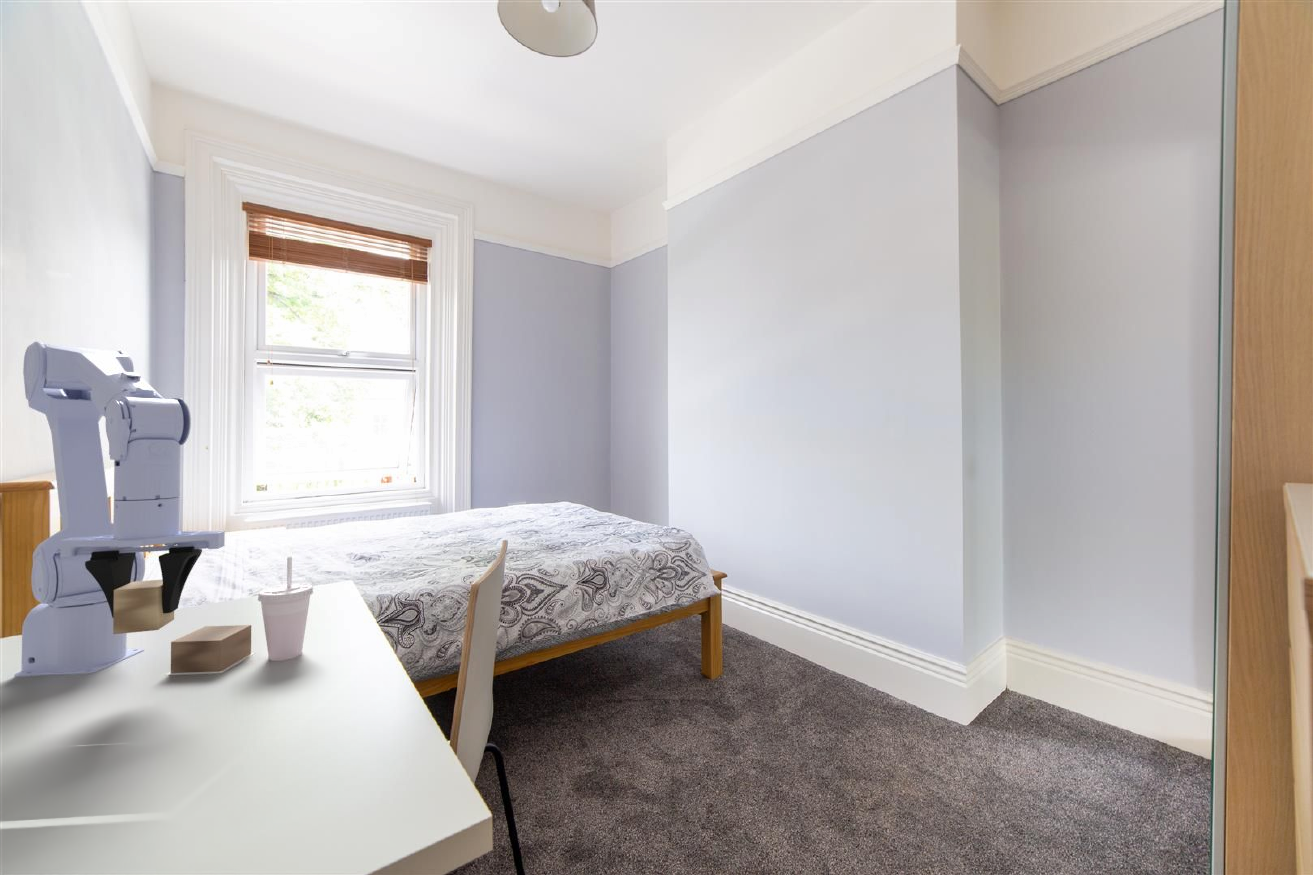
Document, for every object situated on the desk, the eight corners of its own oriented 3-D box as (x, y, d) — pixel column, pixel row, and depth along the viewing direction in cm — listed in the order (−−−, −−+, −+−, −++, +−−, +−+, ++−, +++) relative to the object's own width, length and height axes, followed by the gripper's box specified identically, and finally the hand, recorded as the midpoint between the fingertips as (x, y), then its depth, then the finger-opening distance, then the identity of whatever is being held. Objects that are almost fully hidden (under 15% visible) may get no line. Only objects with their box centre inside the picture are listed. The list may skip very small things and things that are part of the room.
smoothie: (323, 650, 78) (324, 553, 78) (289, 668, 72) (289, 563, 72) (282, 649, 79) (283, 552, 79) (244, 666, 72) (245, 562, 73)
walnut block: (170, 673, 69) (170, 641, 69) (205, 655, 75) (205, 626, 75) (220, 671, 70) (220, 640, 70) (251, 653, 76) (251, 624, 76)
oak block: (113, 634, 61) (113, 590, 61) (132, 623, 65) (133, 581, 65) (157, 629, 63) (158, 586, 63) (174, 619, 66) (174, 578, 66)
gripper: (42, 504, 58) (40, 631, 58) (209, 499, 63) (207, 615, 63) (83, 498, 64) (81, 612, 64) (231, 494, 70) (230, 599, 70)
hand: (145, 613), depth 64 cm, fingers closed on oak block, 4 cm apart
